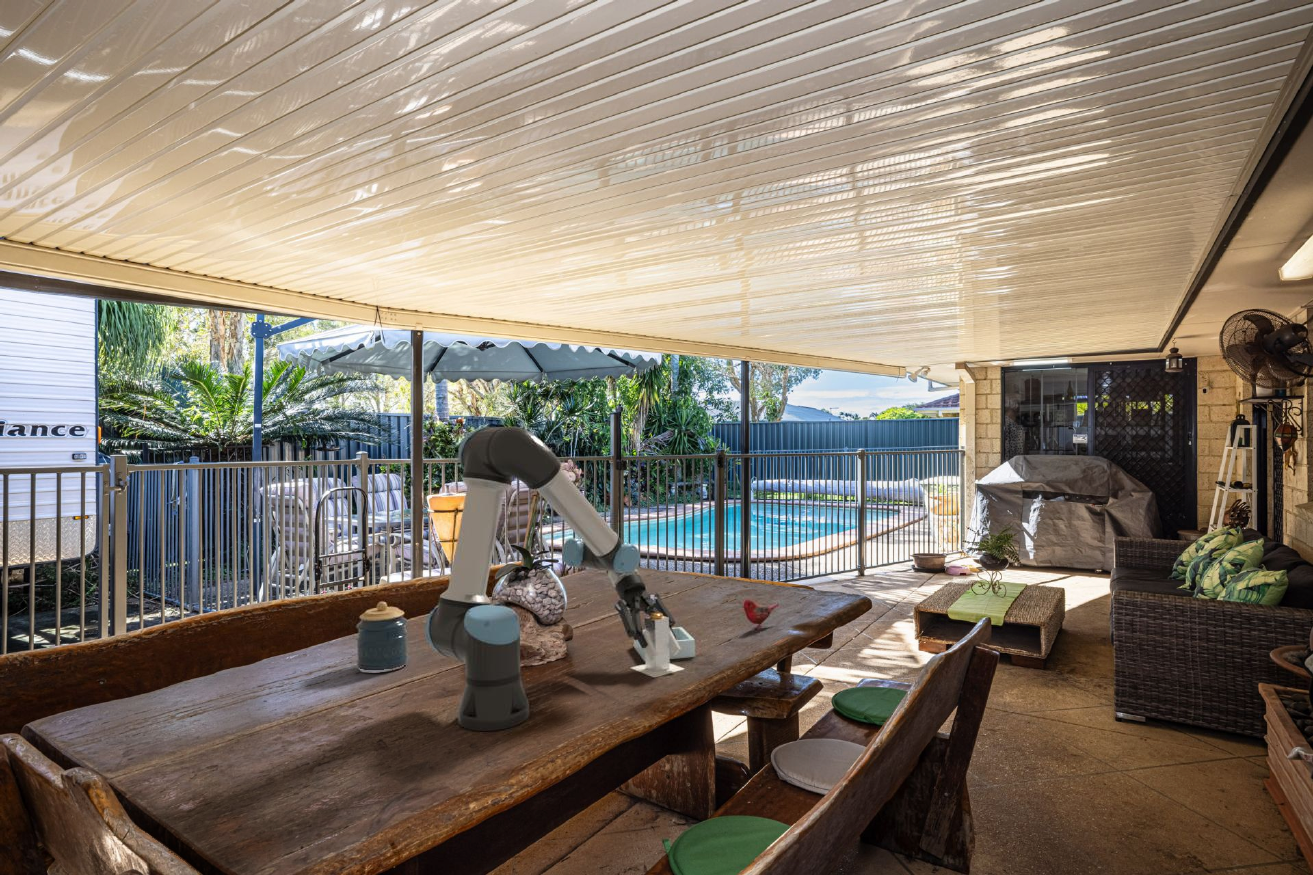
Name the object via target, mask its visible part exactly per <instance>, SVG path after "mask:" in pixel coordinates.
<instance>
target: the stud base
mask: <svg viewBox="0 0 1313 875" xmlns="http://www.w3.org/2000/svg"><path fill="white" fill-rule="evenodd" d="M630 669H632V670H634V671H636V672H640V673H642V674H644V675H647V676H648V677H649V676H650V677H652V678H658V677H661V676H664V675H669V674H672V673H675V672H680V671H683V670H685V668H684V667H682V666H678V665H676V664H673V663H670V669H666V670H662V671H659V672H654V671H652V670H649V669H647V668H646V666H645V664H644V663H643V664H639V665H636V666H632V667H630Z"/></svg>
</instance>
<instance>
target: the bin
mask: <svg viewBox="0 0 1313 875" xmlns="http://www.w3.org/2000/svg"><path fill="white" fill-rule="evenodd" d="M642 630H643V632H642V634H643V633H645V629H642ZM672 630H673V631H674V633H675V635H676V641H677V642H678V644H679V646H680V648H681V649H680V650H679V652H678V653H677V654H676V655H674V654H673V652H672V650H671V649H670V647H669V660H673V659H674V660H675V659H686V658H695V657H696V640H695V638H694V637H693V636H691V635H690V633H689V632H688V631H686V630H685V629H684V628H683V627H682V626H680V627H679V626H677V627H672ZM633 647H634V649H635V651H636V652H637V653H638V655H639V656H640V657H641V659H642V661H644V662H645V649H644V648H642V647H641V646H640V643H639V642H638V640H634V639H633Z"/></svg>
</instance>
